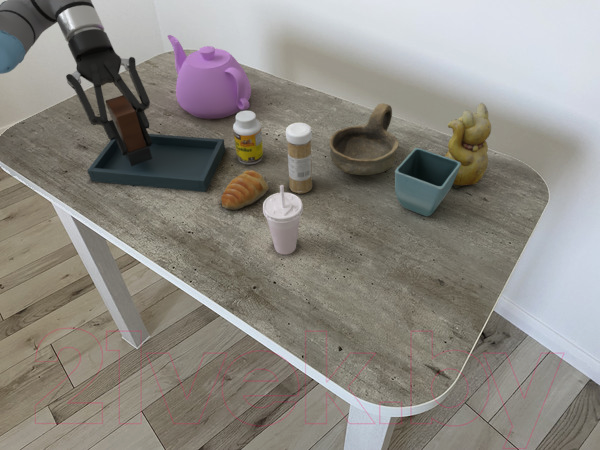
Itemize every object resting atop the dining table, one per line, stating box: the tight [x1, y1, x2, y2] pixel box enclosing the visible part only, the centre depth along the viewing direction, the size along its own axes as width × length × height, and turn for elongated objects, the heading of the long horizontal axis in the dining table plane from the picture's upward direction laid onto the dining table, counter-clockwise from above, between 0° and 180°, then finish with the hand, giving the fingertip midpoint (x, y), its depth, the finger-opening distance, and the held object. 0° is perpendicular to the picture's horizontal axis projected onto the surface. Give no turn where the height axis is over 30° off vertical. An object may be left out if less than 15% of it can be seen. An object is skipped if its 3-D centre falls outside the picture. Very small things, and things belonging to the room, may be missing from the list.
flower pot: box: [394, 147, 461, 218], centre depth 87 cm, size 9×9×9 cm
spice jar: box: [285, 122, 313, 195], centre depth 89 cm, size 5×5×13 cm
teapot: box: [167, 34, 252, 120], centre depth 113 cm, size 25×18×14 cm
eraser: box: [104, 94, 152, 166], centre depth 95 cm, size 8×4×11 cm, turn 33°
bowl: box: [328, 102, 400, 176], centre depth 96 cm, size 14×18×10 cm
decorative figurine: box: [444, 102, 492, 189], centre depth 90 cm, size 10×8×15 cm
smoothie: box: [262, 184, 304, 256], centre depth 78 cm, size 6×6×14 cm
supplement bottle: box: [232, 110, 264, 165], centre depth 98 cm, size 6×6×10 cm
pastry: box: [220, 169, 269, 211], centre depth 91 cm, size 9×7×4 cm
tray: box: [87, 133, 226, 193], centre depth 99 cm, size 24×14×3 cm, turn 81°
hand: (137, 148), depth 95 cm, fingers closed on eraser, 4 cm apart
